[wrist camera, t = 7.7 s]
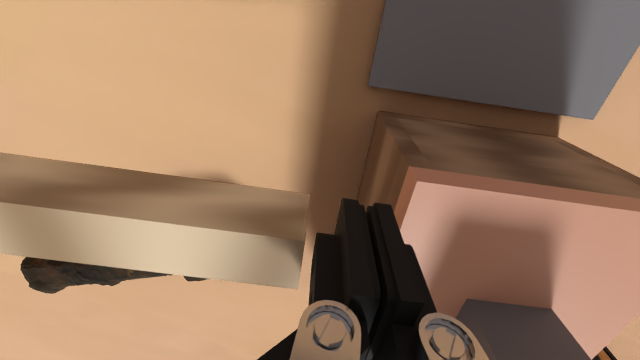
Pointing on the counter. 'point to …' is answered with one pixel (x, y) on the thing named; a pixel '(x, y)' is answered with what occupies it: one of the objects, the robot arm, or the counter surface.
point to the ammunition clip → (604, 355)
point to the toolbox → (480, 158)
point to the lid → (525, 261)
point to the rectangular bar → (151, 221)
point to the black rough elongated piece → (78, 274)
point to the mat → (508, 51)
